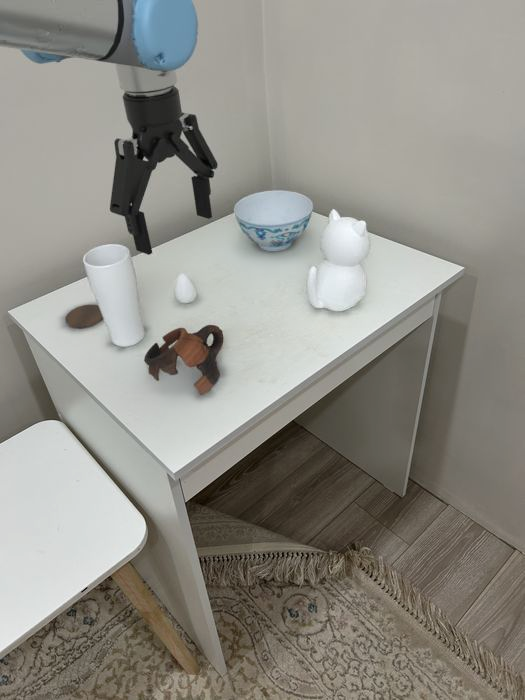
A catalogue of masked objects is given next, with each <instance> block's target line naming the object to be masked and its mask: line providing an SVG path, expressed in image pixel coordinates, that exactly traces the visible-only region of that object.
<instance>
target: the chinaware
mask: <svg viewBox="0 0 525 700" xmlns="http://www.w3.org/2000/svg"><path fill="white" fill-rule="evenodd" d="M313 209H314V204H313V201H312V200H311V199H310V198H309V197H308V196H306V195H304V194H301V193H299V192H296V191H290V190H265V191H259V192H255V193H252V194H249V195H247V196H245V197H244V196H243V198H240V200H238V201H237V202H236V203H235V205H234V208H233V213H234V216H235V219H236V222H237V224H238V226H239V228H240V230H241V231H242V233H244V234H245V236H246V237H247V238H249V239H250V240H251V241H252V242H254V243H256V244H257V245H258V247H260V249H262V250H265V251H269V252H279V251H283V250H286V249H287V248H289V247H290V246H292V243H293V242H294V241H296V240H297V239H298V238H299V237H300V236H301V235H302V234H303V233H304V232H305V230H306V228H307V227H308V225H309V223H310V221H311V217H312V213H313Z"/></svg>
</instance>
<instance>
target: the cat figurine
mask: <svg viewBox="0 0 525 700" xmlns="http://www.w3.org/2000/svg"><path fill="white" fill-rule="evenodd" d="M371 244H372V243H371V238H370V234H369V231H368V229H367V222H366V221H365V220H359V219H357V218H354V217H350V216H342V217H341V215H340V214H339V212H338V211H337V210H336V209H334V208H333V209H331V211H330V212H329V215H328V217H327V224H326V225H325V227H324V228H323V229H322V232H321V234H320V239H319V247H320V251H321V253H322V256H323V257H324V258H323V259H322V260H321V261H320V262H319V263H318V264H317V266H315V265H312V266H311V267H310V268H309V270H308V271H307V274H306V279H305V280H306V281H305V291H306V297H307V299H308V302H309V303H310V305H311V306H312V307H314V308H315V309H327V310H329V311H331V312H343V311H346V310H349V309H351V308H353V307H355V306H356V305H357V304H358V303H359V302H360V301H361V300H362V299H363V298H364V297H365V295H366V292H367V290H368V276H367V272H366V269H365V268H364V266H363V264H362V263H363V262H364V261H365V260H366V259H367V258H368V257H369V255H370V252H371Z"/></svg>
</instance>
